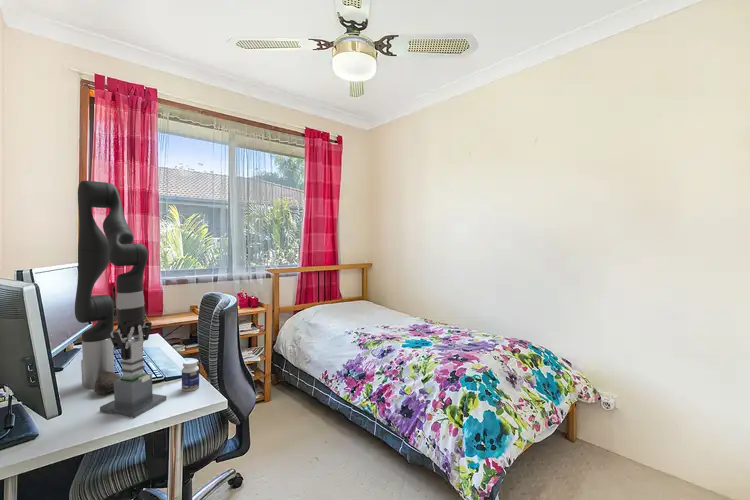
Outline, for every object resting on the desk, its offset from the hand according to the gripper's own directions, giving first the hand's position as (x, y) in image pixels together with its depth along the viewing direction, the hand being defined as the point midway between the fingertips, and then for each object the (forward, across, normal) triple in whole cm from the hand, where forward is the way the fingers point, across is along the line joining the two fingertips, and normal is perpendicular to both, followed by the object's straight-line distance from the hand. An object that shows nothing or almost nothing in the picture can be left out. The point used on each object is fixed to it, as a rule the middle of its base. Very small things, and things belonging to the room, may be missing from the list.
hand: (132, 356), depth 119 cm
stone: (+17, -6, -18) cm, 26 cm away
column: (+10, 0, 0) cm, 10 cm away
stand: (+16, 0, 0) cm, 16 cm away
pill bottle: (+17, -16, +8) cm, 24 cm away
